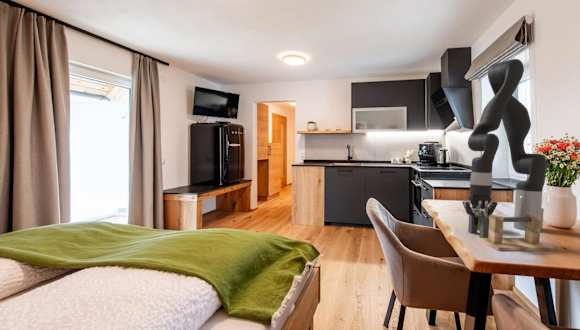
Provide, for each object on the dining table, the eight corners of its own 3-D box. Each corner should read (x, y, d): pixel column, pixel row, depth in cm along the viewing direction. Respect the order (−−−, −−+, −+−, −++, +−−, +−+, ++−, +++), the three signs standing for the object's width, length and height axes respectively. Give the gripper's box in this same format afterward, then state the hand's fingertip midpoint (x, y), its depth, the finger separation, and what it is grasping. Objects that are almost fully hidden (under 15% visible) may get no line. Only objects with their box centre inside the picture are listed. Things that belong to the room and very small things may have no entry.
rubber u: (473, 232, 126) (474, 213, 126) (488, 238, 117) (490, 218, 117) (468, 232, 126) (469, 213, 125) (482, 238, 117) (483, 218, 116)
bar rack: (527, 240, 116) (528, 212, 115) (553, 250, 105) (555, 219, 104) (476, 240, 115) (478, 212, 114) (497, 250, 104) (499, 219, 103)
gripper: (491, 182, 124) (488, 223, 125) (458, 182, 124) (456, 223, 125) (504, 184, 117) (502, 228, 118) (470, 184, 116) (467, 228, 117)
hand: (478, 225), depth 121 cm, fingers closed on rubber u, 2 cm apart
